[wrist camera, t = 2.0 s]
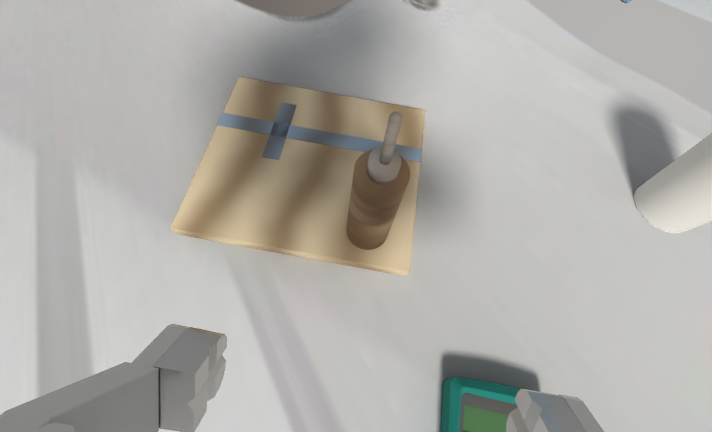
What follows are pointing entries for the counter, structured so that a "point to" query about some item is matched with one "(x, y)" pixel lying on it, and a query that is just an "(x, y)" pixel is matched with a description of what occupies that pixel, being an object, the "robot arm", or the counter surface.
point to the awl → (377, 190)
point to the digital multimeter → (476, 405)
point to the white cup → (679, 192)
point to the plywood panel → (298, 175)
